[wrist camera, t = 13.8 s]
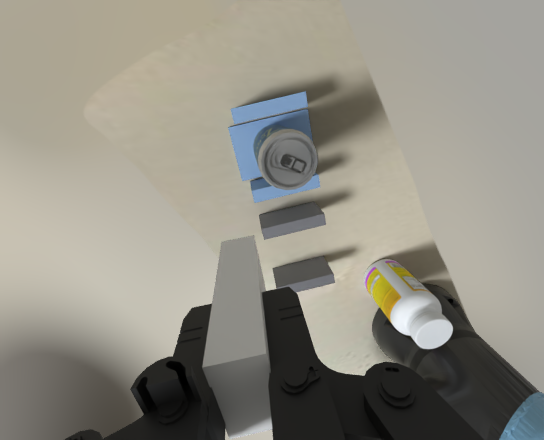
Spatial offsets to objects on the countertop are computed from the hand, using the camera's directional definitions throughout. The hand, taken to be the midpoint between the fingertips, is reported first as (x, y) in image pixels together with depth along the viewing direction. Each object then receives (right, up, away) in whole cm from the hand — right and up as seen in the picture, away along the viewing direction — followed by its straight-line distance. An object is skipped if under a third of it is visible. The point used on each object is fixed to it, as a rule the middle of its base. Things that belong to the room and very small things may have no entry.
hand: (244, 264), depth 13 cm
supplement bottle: (+19, -7, +31) cm, 37 cm away
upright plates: (+3, +5, +25) cm, 25 cm away
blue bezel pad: (+1, +12, +22) cm, 25 cm away
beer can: (+2, +11, +22) cm, 25 cm away
